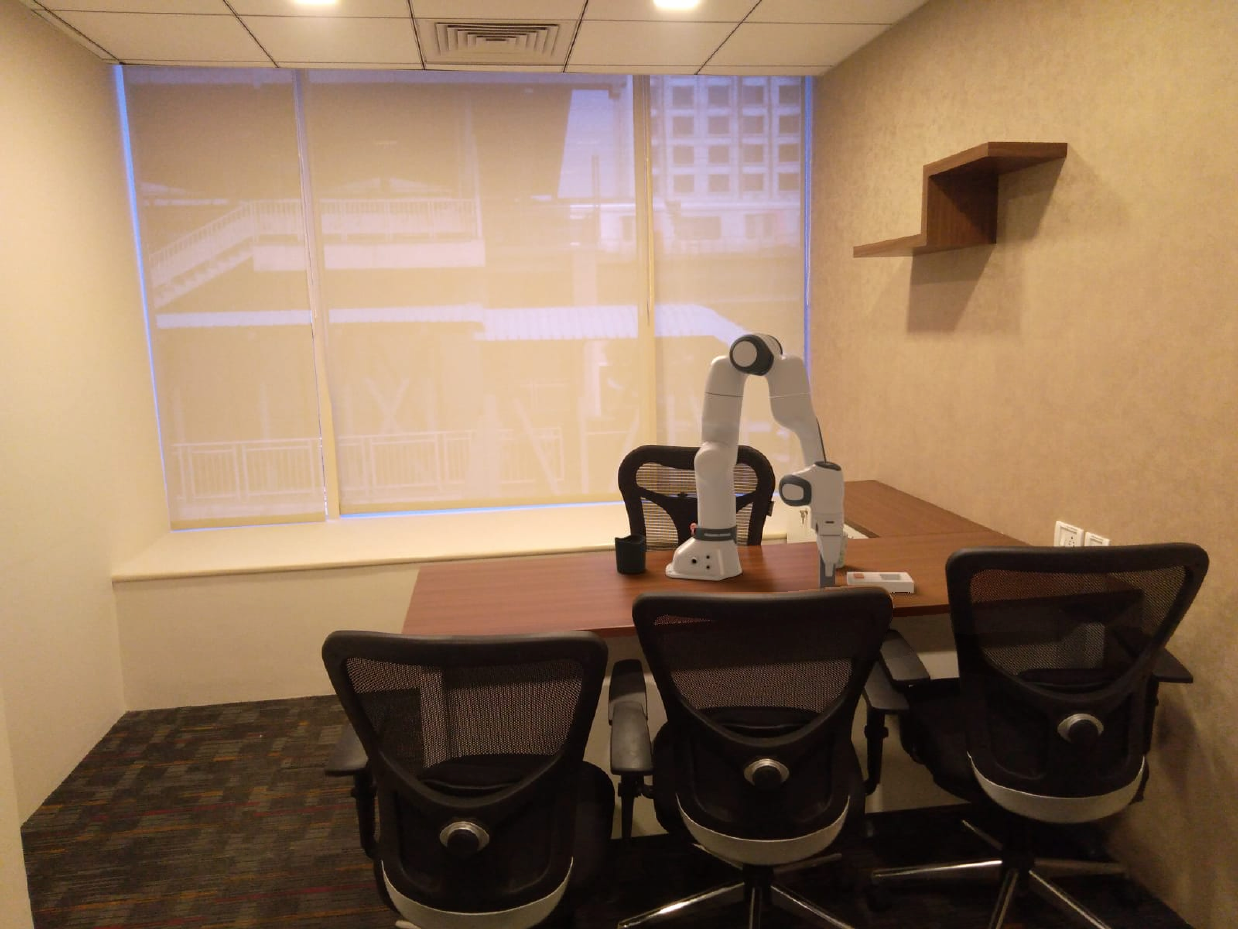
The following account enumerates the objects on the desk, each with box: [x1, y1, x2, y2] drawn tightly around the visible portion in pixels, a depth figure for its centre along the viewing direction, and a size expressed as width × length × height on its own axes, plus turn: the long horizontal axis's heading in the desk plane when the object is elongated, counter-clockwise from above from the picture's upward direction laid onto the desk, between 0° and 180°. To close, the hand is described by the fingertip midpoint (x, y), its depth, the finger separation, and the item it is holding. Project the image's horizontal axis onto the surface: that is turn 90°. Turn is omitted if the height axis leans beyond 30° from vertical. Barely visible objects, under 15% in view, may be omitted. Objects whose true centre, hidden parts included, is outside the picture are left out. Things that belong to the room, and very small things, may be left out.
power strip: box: [846, 571, 915, 594], centre depth 219 cm, size 16×9×4 cm, turn 82°
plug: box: [817, 549, 836, 589], centre depth 220 cm, size 4×4×10 cm
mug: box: [835, 530, 849, 569], centre depth 238 cm, size 8×13×10 cm, turn 164°
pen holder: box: [614, 534, 647, 575], centre depth 243 cm, size 9×9×10 cm
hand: (826, 570), depth 220 cm, fingers open, 8 cm apart
